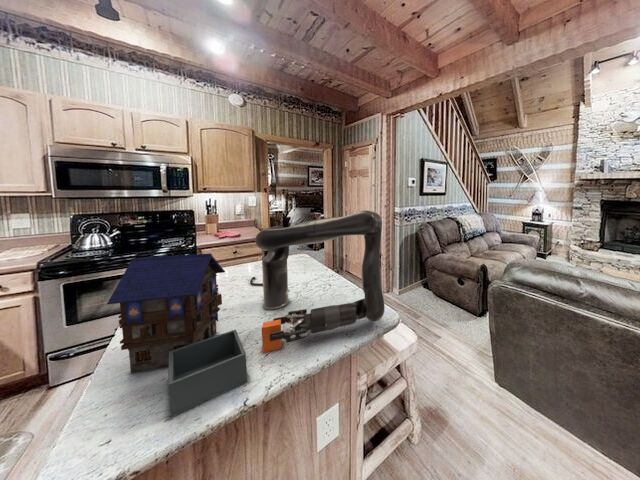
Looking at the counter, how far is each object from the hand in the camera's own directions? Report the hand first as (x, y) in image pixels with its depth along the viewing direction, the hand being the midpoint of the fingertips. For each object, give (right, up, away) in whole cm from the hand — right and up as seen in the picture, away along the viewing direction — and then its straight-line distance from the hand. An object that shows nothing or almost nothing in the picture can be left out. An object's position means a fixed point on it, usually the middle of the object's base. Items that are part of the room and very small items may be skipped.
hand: (271, 329), depth 79 cm
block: (0, -6, +1) cm, 6 cm away
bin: (-10, -7, -13) cm, 17 cm away
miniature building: (-27, -6, -1) cm, 28 cm away
